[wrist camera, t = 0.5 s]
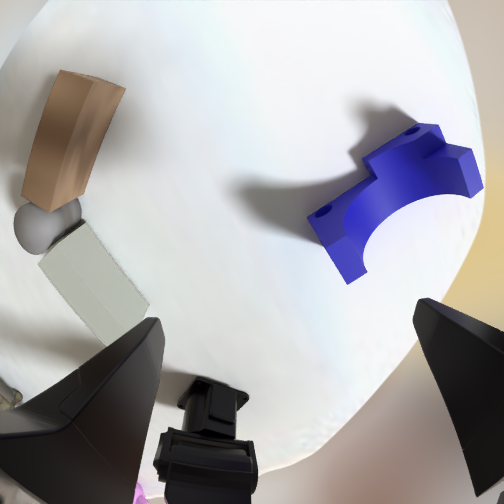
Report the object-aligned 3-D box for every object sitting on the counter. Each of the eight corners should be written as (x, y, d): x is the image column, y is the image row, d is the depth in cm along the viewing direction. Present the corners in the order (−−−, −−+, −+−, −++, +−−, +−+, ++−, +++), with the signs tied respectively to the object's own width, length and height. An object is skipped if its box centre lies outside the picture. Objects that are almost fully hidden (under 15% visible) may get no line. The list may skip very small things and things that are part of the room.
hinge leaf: (40, 205, 20) (7, 223, 16) (63, 180, 20) (29, 195, 15) (124, 318, 25) (107, 351, 21) (152, 302, 24) (137, 337, 20)
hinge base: (75, 237, 22) (45, 263, 18) (44, 219, 21) (11, 240, 17) (130, 90, 17) (98, 83, 13) (92, 75, 17) (56, 68, 12)
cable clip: (417, 123, 19) (463, 127, 13) (438, 170, 20) (483, 188, 15) (295, 200, 21) (312, 228, 16) (325, 246, 23) (347, 285, 18)
